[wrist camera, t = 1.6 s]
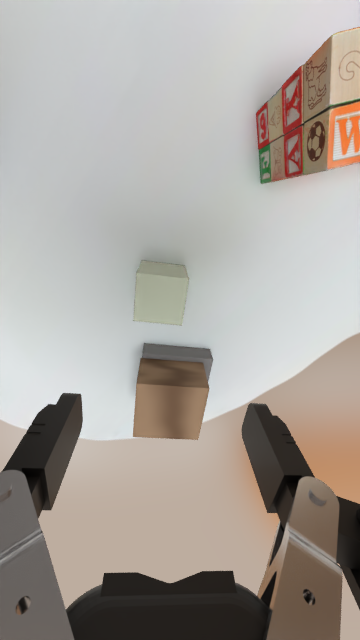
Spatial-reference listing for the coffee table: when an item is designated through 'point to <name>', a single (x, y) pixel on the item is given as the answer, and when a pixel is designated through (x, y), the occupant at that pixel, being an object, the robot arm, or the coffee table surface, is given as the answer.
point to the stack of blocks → (314, 114)
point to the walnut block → (170, 399)
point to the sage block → (160, 293)
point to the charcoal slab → (179, 354)
